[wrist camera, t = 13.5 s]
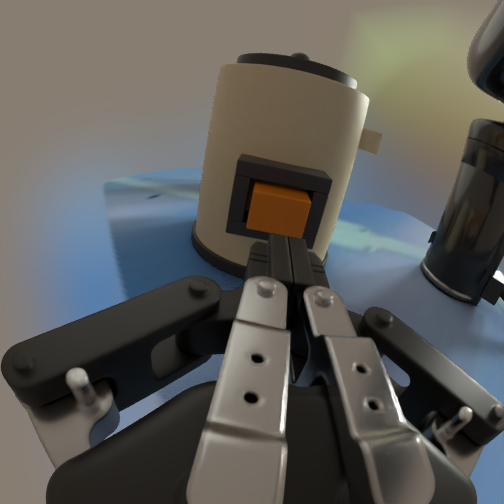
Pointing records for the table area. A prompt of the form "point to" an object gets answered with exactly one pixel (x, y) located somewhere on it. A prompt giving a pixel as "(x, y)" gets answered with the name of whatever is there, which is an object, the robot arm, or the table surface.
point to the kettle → (277, 150)
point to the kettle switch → (278, 209)
